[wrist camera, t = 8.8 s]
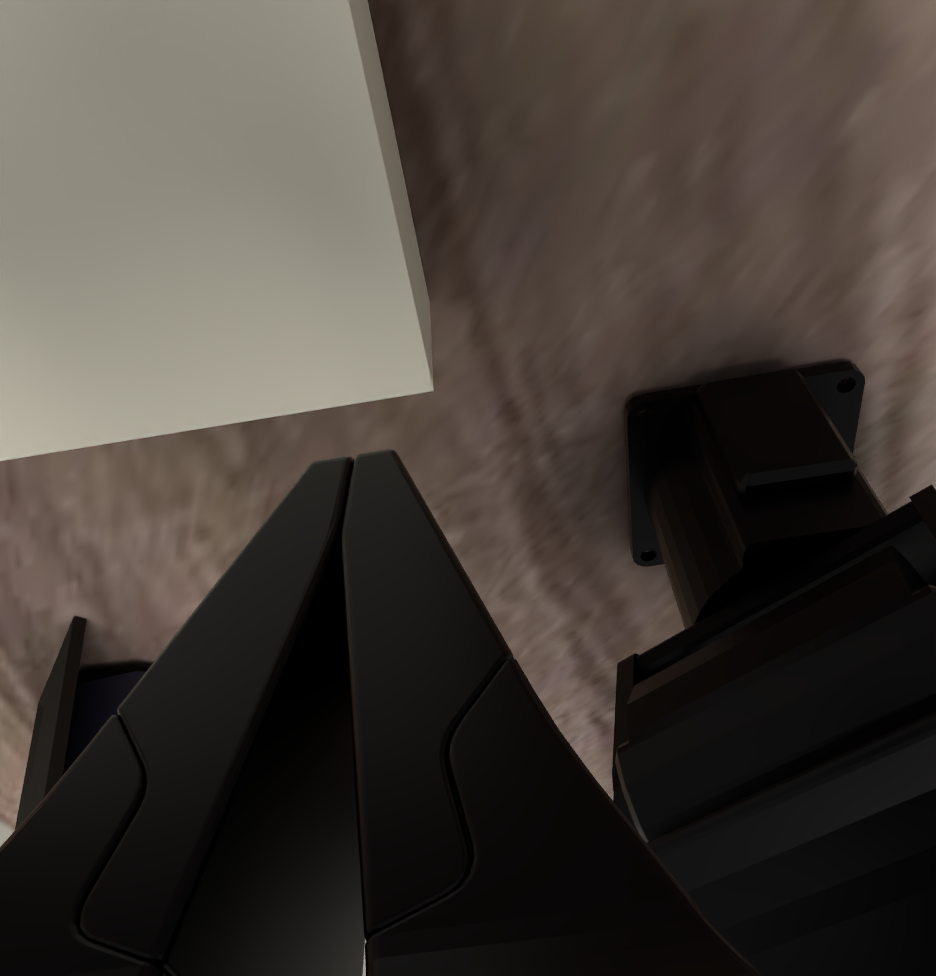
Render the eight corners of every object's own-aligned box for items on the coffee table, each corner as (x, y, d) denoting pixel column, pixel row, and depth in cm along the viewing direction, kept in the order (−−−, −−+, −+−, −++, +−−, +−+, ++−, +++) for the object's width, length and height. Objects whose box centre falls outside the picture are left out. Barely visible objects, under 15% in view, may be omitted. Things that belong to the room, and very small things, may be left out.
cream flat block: (429, 301, 22) (433, 391, 19) (-23, 377, 23) (-89, 475, 20) (211, -759, 12) (143, -938, 9) (-612, -559, 12) (-945, -659, 9)
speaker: (-22, 693, 31) (-117, 1021, 23) (76, 612, 29) (6, 941, 21) (159, 759, 35) (128, 1050, 28) (255, 692, 33) (249, 987, 26)
